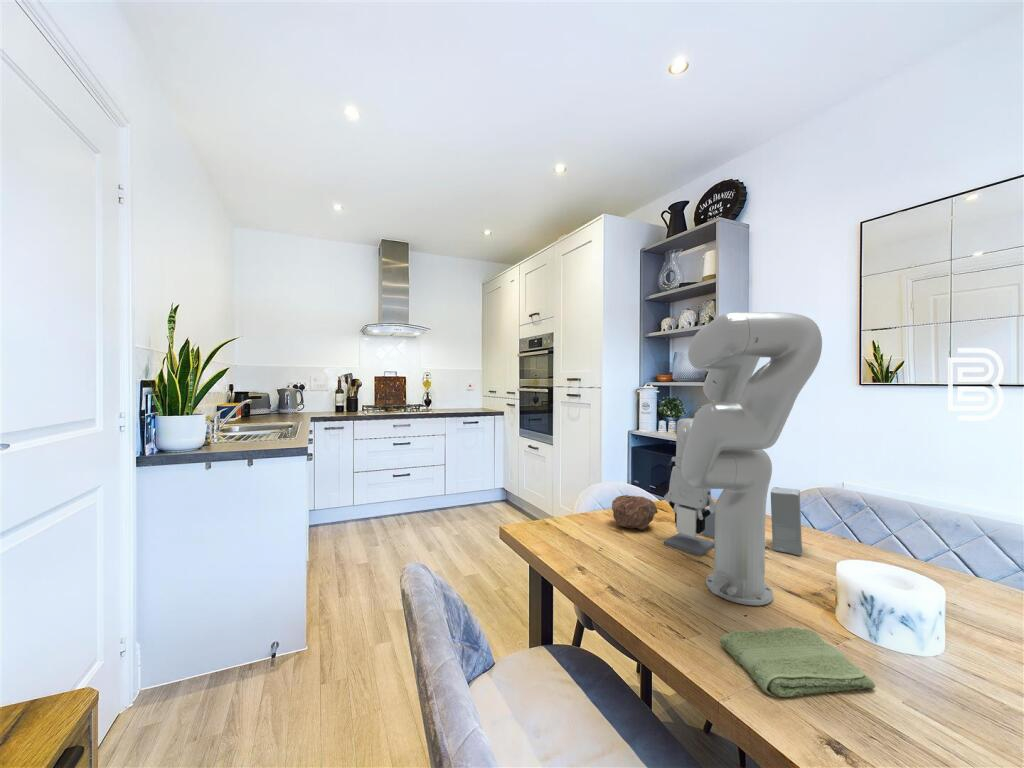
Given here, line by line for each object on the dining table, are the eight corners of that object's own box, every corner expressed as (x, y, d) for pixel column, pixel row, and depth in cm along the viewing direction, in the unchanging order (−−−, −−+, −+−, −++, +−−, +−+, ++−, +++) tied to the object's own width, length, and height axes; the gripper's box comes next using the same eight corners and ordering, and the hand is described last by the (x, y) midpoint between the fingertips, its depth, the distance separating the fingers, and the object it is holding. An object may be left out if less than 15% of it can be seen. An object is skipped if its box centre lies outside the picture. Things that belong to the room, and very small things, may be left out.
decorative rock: (662, 528, 125) (662, 495, 125) (643, 537, 117) (644, 503, 117) (624, 517, 135) (624, 487, 135) (604, 525, 127) (605, 493, 127)
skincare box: (801, 557, 105) (802, 495, 105) (768, 549, 109) (769, 491, 109) (802, 546, 112) (803, 488, 112) (771, 540, 116) (772, 484, 116)
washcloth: (881, 695, 60) (882, 673, 60) (769, 704, 58) (769, 682, 58) (807, 638, 73) (807, 620, 73) (714, 644, 71) (714, 626, 71)
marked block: (694, 537, 109) (694, 510, 109) (676, 531, 113) (676, 505, 112) (702, 532, 112) (703, 506, 112) (684, 527, 116) (685, 502, 116)
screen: (734, 544, 113) (735, 515, 113) (688, 531, 123) (688, 504, 122) (737, 542, 114) (738, 514, 114) (691, 529, 124) (691, 503, 124)
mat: (700, 556, 105) (700, 552, 105) (663, 544, 113) (663, 540, 113) (716, 545, 112) (716, 542, 112) (680, 535, 119) (680, 531, 119)
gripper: (654, 460, 116) (653, 524, 116) (717, 471, 103) (715, 542, 104) (668, 457, 121) (666, 518, 121) (728, 467, 108) (727, 535, 109)
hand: (689, 528), depth 112 cm, fingers closed on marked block, 5 cm apart
